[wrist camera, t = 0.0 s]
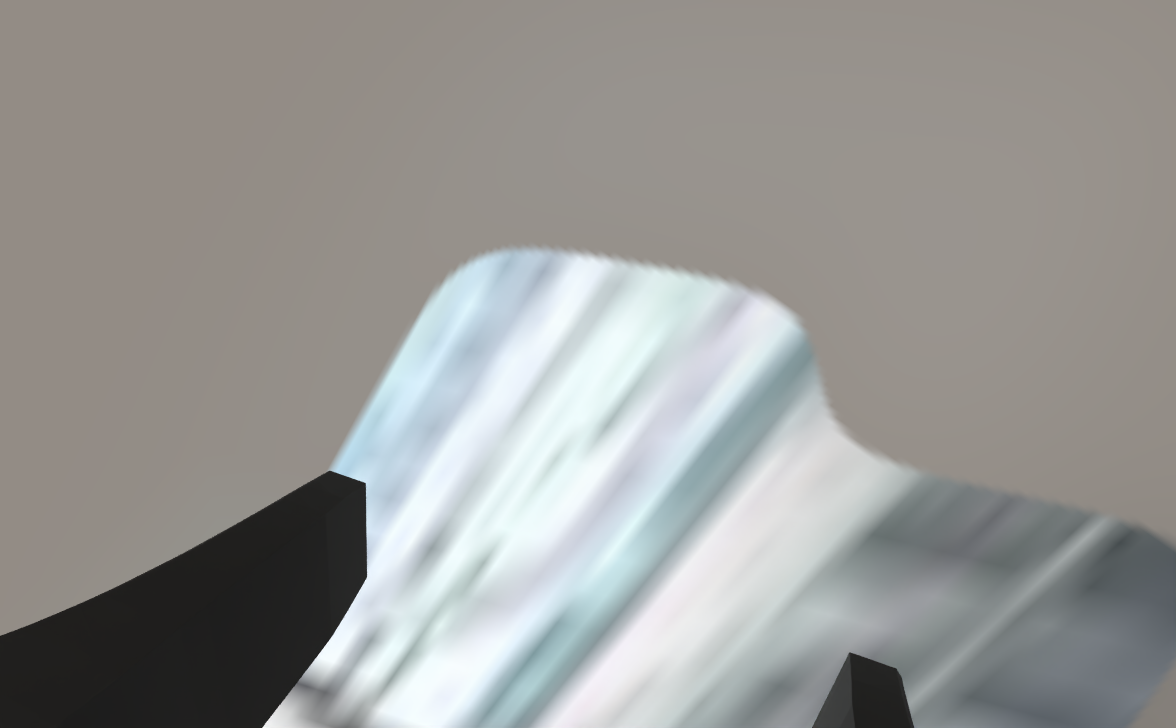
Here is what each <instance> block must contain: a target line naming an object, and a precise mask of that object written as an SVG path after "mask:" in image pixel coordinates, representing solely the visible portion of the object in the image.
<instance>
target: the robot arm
mask: <svg viewBox="0 0 1176 728" xmlns="http://www.w3.org/2000/svg"><path fill="white" fill-rule="evenodd" d="M366 578H367V540H366V483H364V482H361V481H358V480H355V479H352V478H349V477H346V476H344V475H341V474H338V473H335V472H332V471H328V472H326V473H325V474H323V475H321V476H319V477H317V478H316V479H314V480H312V481H310V482H308V483H307V484H305V485H303V486H301V487H300V488H298V489H296V490H295V491H293V492H291V493H289V494H288V495H286V496H284V497H282V498H281V499H279V500H277V501H276V502H274V503H272V504H271V505H269V506H267V507H265V508H264V509H262V510H260V511H258V512H257V513H255V514H253V515H251V516H250V517H248V518H246V519H244V520H243V521H241V522H239V523H237V524H236V525H234V526H232V527H230V528H228V529H227V530H225V531H223V532H221V533H219V534H217V535H216V536H214V537H212V538H210V539H208V540H207V541H205V542H203V543H201V544H199V545H198V546H196V547H194V548H192V549H190V550H188V551H187V552H185V553H183V554H181V555H179V556H177V557H175V558H173V559H171V560H169V561H167V562H165V563H163V564H161V565H159V566H157V567H155V568H153V569H151V570H149V571H147V572H145V573H143V574H141V575H139V576H137V577H135V578H133V579H131V580H129V581H128V582H125V583H123V584H121V585H119V586H117V587H115V588H113V589H111V590H109V591H107V592H104V593H102V594H100V595H98V596H96V597H94V598H92V599H89V600H87V601H85V602H83V603H80V604H78V605H76V606H74V607H71V608H69V609H66V610H64V611H62V612H59V613H57V614H55V615H52V616H50V617H47V618H45V619H43V620H40V621H38V622H36V623H33V624H31V625H28V626H26V627H23V628H20V629H18V630H15V631H13V632H10V633H7V634H4V635H1V636H0V728H262V727H263V726H264V725H265V723H266V722H267V721H268V719H269V718H270V717H271V716H272V714H273V713H274V712H275V710H276V709H277V708H278V707H279V705H280V704H281V703H282V701H283V700H284V699H285V697H286V696H287V695H288V694H289V692H290V691H291V690H292V688H293V687H294V686H295V685H296V683H297V682H298V681H299V679H300V678H301V677H302V675H303V674H304V673H305V671H306V670H307V669H308V668H309V666H310V665H311V664H312V662H313V661H314V660H315V658H316V657H317V656H318V654H319V653H320V652H321V650H322V649H323V648H324V646H325V645H326V644H327V642H328V641H329V640H330V638H331V637H332V636H333V634H334V632H335V631H336V629H337V627H338V626H339V624H340V622H341V621H342V619H343V618H344V616H345V614H346V613H347V611H348V609H349V608H350V606H351V604H352V602H353V601H354V599H355V597H356V596H357V594H358V592H359V590H360V589H361V587H362V585H363V583H364V582H365V580H366ZM812 728H914V725H913V722H912V718H911V714H910V711H909V707H908V703H907V699H906V695H905V691H904V687H903V682H902V678H901V676H900V674H899V673H898V671H897V669H896V668H893V667H890V666H887V665H884V664H881V663H879V662H876V661H873V660H870V659H867V658H864V657H861V656H859V655H856V654H853V653H849V655H848V657H847V659H846V661H845V663H844V665H843V667H842V669H841V671H840V673H839V675H838V677H837V679H836V681H835V683H834V685H833V687H832V689H831V691H830V693H829V695H828V697H827V699H826V701H825V703H824V705H823V707H822V709H821V711H820V713H819V715H818V717H817V719H816V721H815V723H814V725H813V727H812Z"/></svg>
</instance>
